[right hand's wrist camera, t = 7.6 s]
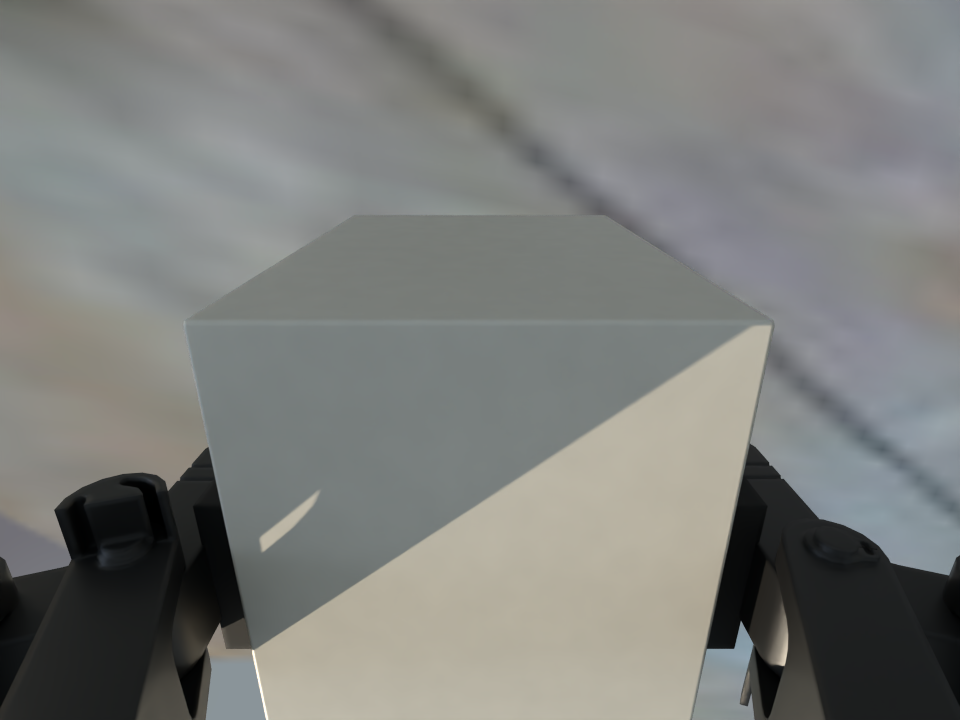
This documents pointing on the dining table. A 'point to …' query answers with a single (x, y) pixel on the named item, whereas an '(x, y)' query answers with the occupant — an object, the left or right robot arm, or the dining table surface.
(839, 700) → the right robot arm
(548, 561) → the brick
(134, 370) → the dining table surface
